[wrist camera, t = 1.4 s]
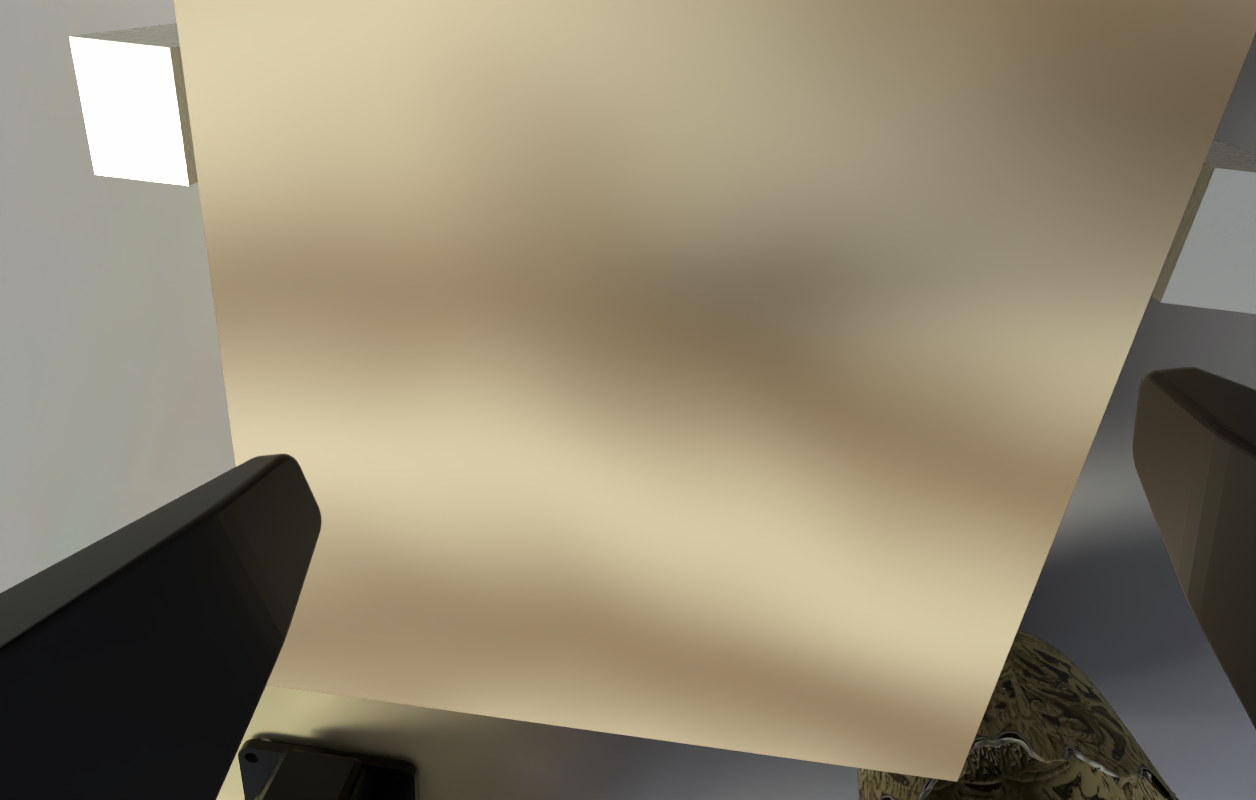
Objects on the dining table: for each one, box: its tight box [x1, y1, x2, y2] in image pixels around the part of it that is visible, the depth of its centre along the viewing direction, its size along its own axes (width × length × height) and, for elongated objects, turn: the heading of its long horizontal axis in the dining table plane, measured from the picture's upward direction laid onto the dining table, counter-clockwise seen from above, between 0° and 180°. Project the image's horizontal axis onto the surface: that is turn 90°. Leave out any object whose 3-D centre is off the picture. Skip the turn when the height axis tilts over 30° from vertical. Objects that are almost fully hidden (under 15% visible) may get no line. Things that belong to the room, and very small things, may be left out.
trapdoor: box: [174, 0, 1256, 782], centre depth 16 cm, size 16×14×6 cm
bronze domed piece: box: [858, 630, 1178, 800], centre depth 23 cm, size 8×7×8 cm
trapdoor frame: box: [69, 23, 1256, 314], centre depth 16 cm, size 13×18×8 cm
